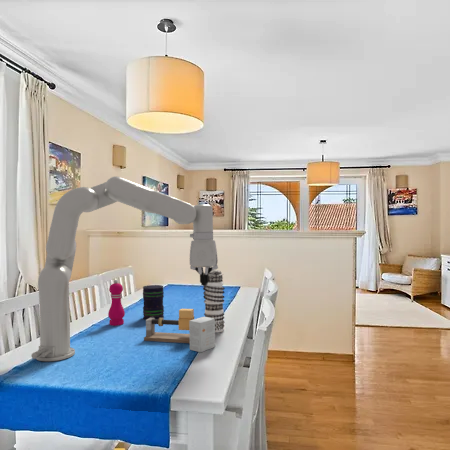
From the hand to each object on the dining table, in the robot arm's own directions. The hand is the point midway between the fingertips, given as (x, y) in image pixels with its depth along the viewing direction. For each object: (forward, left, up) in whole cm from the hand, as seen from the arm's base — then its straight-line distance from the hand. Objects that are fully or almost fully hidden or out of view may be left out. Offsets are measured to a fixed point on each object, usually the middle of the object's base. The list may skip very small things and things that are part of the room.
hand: (204, 284), depth 154 cm
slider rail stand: (0, +12, -22) cm, 25 cm away
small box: (-9, -1, -22) cm, 24 cm away
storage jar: (+32, +34, -22) cm, 52 cm away
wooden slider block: (0, +7, -17) cm, 19 cm away
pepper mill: (+18, +46, -22) cm, 54 cm away
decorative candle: (+16, 0, -22) cm, 27 cm away
